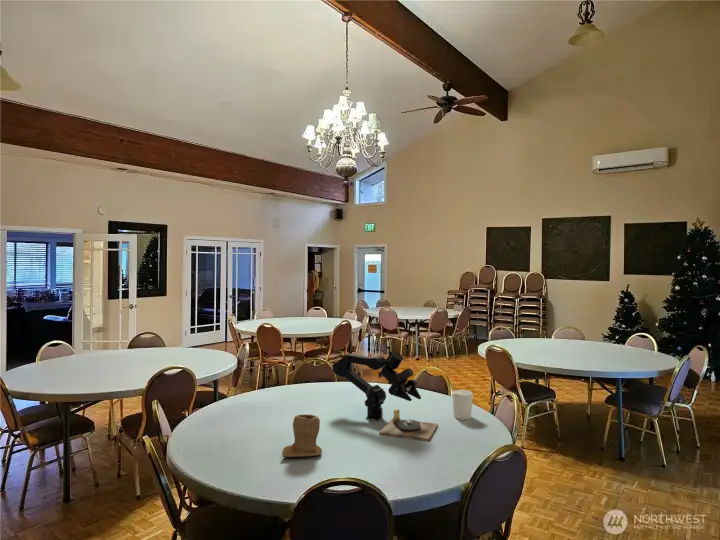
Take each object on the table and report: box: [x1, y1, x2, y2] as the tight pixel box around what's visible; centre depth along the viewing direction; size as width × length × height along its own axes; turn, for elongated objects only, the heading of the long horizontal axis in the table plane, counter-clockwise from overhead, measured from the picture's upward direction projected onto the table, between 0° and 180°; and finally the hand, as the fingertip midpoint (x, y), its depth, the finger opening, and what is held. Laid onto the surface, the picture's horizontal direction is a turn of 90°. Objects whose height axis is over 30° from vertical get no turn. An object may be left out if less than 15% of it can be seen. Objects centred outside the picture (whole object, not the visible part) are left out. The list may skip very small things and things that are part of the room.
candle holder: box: [451, 389, 474, 420], centre depth 225 cm, size 10×10×12 cm
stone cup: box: [281, 414, 323, 458], centre depth 180 cm, size 15×12×15 cm
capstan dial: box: [392, 408, 421, 432], centre depth 208 cm, size 14×10×6 cm
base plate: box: [378, 418, 439, 442], centre depth 207 cm, size 22×20×1 cm
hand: (415, 399), depth 209 cm, fingers open, 9 cm apart
